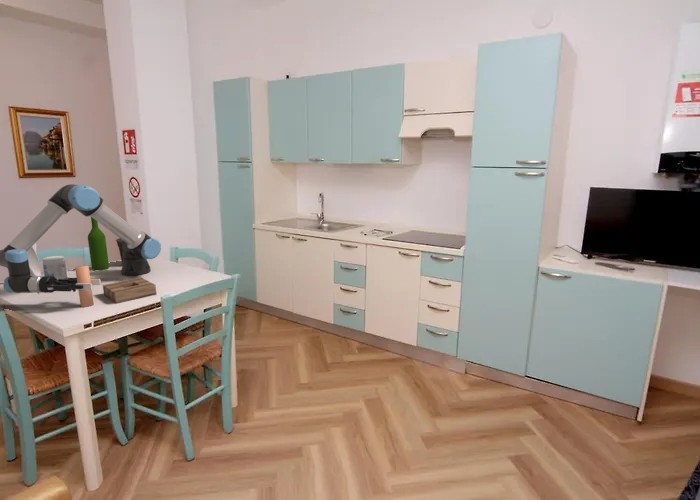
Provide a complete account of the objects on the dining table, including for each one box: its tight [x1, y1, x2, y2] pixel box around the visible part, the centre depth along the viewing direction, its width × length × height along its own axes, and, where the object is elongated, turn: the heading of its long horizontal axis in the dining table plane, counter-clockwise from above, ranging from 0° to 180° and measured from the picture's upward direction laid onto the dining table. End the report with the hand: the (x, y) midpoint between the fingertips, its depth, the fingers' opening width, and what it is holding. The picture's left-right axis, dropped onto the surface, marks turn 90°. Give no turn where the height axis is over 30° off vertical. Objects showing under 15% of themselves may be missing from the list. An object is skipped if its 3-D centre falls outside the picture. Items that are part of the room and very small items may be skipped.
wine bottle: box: [87, 216, 110, 271], centre depth 246 cm, size 9×9×32 cm
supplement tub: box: [42, 255, 68, 280], centre depth 216 cm, size 10×10×15 cm
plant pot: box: [115, 237, 124, 266], centre depth 259 cm, size 16×16×16 cm
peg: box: [74, 265, 95, 308], centre depth 186 cm, size 5×5×18 cm
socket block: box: [102, 277, 157, 304], centre depth 202 cm, size 18×18×5 cm
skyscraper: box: [27, 241, 42, 276], centre depth 220 cm, size 8×8×28 cm
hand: (95, 284), depth 186 cm, fingers open, 6 cm apart
